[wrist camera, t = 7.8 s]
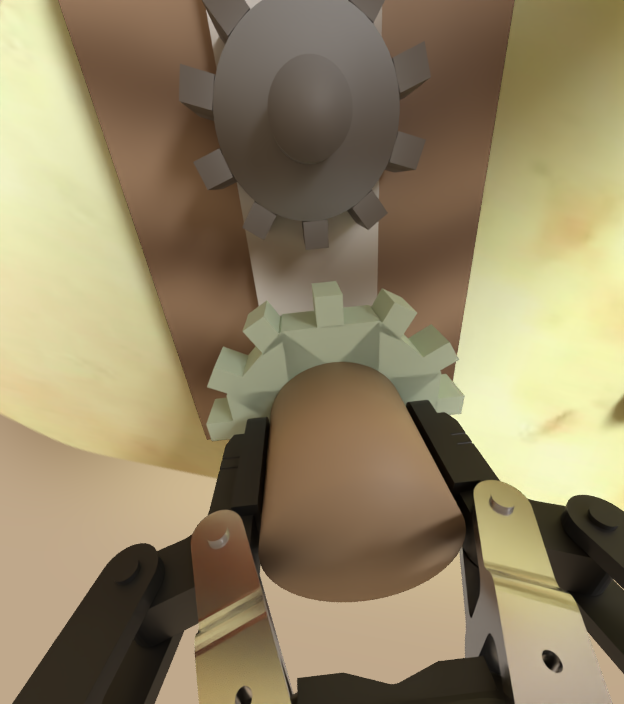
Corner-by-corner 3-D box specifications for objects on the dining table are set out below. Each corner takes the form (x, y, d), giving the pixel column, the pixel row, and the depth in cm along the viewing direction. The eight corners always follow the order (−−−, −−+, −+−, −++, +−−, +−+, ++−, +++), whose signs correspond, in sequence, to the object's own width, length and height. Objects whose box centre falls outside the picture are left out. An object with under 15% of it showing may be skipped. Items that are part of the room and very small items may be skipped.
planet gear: (184, 296, 11) (67, 417, 5) (461, 267, 11) (645, 354, 5) (240, 484, 16) (211, 655, 10) (433, 462, 16) (515, 619, 10)
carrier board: (63, -45, 11) (-155, -266, 6) (505, -83, 11) (704, -334, 6) (212, 424, 21) (185, 503, 16) (437, 400, 22) (486, 470, 16)
